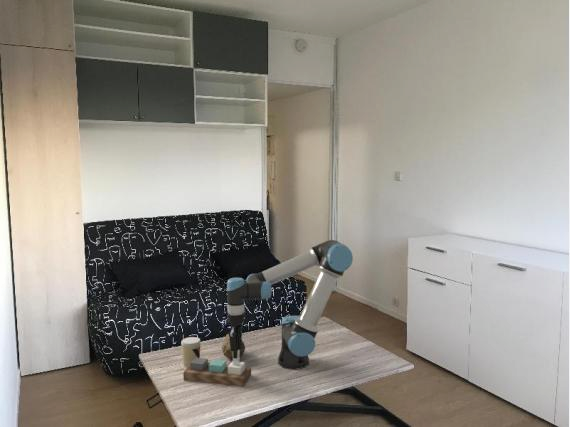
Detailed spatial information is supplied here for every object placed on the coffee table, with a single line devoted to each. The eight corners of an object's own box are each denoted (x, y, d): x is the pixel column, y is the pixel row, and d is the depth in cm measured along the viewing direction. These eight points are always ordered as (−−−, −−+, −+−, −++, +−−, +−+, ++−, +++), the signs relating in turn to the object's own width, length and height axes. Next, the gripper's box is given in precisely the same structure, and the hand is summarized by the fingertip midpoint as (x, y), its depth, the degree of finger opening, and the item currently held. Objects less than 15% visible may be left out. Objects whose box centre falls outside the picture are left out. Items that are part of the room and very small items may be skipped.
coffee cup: (196, 369, 223) (196, 344, 222) (178, 367, 225) (177, 343, 224) (204, 361, 232) (203, 337, 231) (186, 359, 234) (185, 336, 233)
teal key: (226, 371, 216) (226, 360, 215) (221, 376, 210) (221, 366, 209) (214, 369, 217) (213, 359, 217) (209, 375, 211) (208, 364, 211)
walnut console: (251, 375, 216) (251, 366, 216) (242, 387, 205) (242, 378, 204) (194, 369, 223) (194, 361, 222) (183, 380, 211) (183, 371, 211)
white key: (244, 373, 214) (244, 362, 213) (240, 378, 208) (240, 368, 207) (232, 371, 215) (232, 361, 214) (227, 377, 209) (227, 366, 209)
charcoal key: (207, 369, 218) (207, 358, 217) (202, 374, 212) (202, 364, 211) (195, 367, 219) (195, 357, 219) (190, 373, 213) (190, 362, 213)
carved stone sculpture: (218, 352, 243) (218, 323, 242) (240, 349, 247) (240, 321, 245) (226, 368, 223) (226, 338, 222) (250, 365, 227) (250, 335, 225)
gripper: (232, 308, 216) (233, 357, 218) (222, 316, 203) (223, 369, 205) (248, 309, 214) (248, 359, 216) (239, 318, 201) (239, 371, 204)
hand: (236, 364), depth 211 cm, fingers closed
